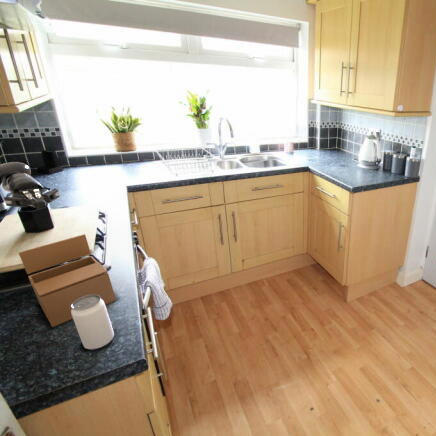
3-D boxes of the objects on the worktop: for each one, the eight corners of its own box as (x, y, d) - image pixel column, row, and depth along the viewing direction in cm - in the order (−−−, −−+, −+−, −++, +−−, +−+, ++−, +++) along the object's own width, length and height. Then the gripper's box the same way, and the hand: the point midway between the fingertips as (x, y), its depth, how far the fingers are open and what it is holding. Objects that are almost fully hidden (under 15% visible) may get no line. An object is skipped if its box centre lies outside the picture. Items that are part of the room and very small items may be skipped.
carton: (52, 327, 83) (38, 295, 79) (39, 303, 91) (26, 273, 87) (116, 300, 94) (107, 270, 89) (99, 281, 102) (91, 253, 98)
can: (119, 338, 80) (107, 299, 76) (90, 354, 75) (76, 314, 71) (107, 327, 84) (95, 290, 79) (78, 342, 79) (64, 303, 74)
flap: (18, 253, 84) (18, 252, 84) (27, 274, 87) (27, 273, 87) (85, 234, 94) (84, 234, 95) (91, 254, 97) (90, 253, 98)
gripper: (56, 196, 107) (71, 211, 97) (2, 205, 97) (13, 223, 87) (50, 174, 104) (65, 188, 94) (-7, 182, 94) (3, 198, 84)
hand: (40, 205), depth 91 cm, fingers closed
